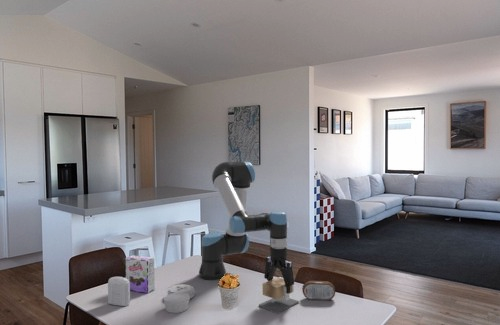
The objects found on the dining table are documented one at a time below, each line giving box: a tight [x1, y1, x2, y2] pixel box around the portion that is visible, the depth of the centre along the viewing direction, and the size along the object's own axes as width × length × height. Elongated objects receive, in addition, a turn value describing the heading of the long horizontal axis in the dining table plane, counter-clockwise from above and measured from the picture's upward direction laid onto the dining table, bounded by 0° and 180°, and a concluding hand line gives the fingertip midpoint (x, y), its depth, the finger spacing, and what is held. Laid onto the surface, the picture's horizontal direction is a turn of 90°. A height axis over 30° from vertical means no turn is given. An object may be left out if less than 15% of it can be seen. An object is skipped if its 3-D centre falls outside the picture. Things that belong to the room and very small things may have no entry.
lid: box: [166, 283, 195, 299], centre depth 175 cm, size 13×13×5 cm
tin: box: [302, 280, 336, 301], centre depth 170 cm, size 15×3×8 cm, turn 84°
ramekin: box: [163, 293, 191, 314], centre depth 161 cm, size 11×11×5 cm
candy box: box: [124, 255, 156, 294], centre depth 184 cm, size 14×6×16 cm, turn 68°
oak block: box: [262, 276, 295, 299], centre depth 164 cm, size 8×5×12 cm
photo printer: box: [107, 276, 131, 307], centre depth 167 cm, size 10×4×12 cm, turn 72°
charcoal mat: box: [258, 296, 300, 314], centre depth 165 cm, size 11×15×1 cm
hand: (279, 297), depth 165 cm, fingers closed on oak block, 8 cm apart
